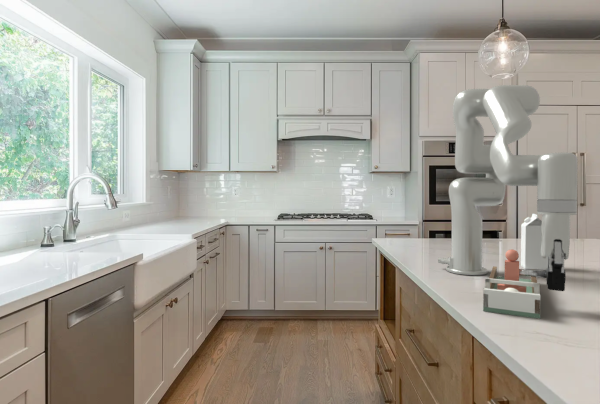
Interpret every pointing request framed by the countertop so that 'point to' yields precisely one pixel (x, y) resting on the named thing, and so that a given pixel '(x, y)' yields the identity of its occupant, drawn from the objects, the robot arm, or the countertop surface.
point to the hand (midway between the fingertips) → (555, 287)
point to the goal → (511, 296)
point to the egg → (511, 289)
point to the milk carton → (532, 244)
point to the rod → (519, 272)
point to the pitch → (510, 312)
